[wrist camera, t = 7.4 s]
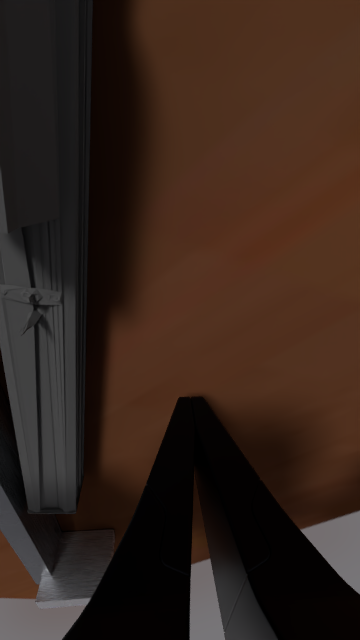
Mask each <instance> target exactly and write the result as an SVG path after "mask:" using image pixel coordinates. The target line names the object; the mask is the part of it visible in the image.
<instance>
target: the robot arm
mask: <svg viewBox="0 0 360 640" xmlns="http://www.w3.org/2000/svg"><path fill="white" fill-rule="evenodd" d="M194 472H195V478H196V483H197V488H198V494H199V499H200V505H201V510H202V516H203V521H204V526H205V532H206V537H207V543H208V548H209V553H210V559H211V564H212V570H213V575H214V581H215V585H216V591H217V596H218V602H219V608H220V612H221V618H222V624H223V629H224V632H225V633H224V635H225V640H360V594H358V593H357V592H356V591H355V590H354V589H353V588H352V587H351V586H349V585H348V584H347V583H346V582H345V581H344V580H343V579H342V578H341V577H340V576H339V575H338V574H337V572H336V571H335V570H334V569H333V568H332V567H331V566H330V564H329V563H328V562H327V561H326V560H325V558H324V557H323V556H322V555H321V554H320V553H319V552H318V550H317V549H316V548H315V547H314V546H313V545H312V543H311V542H310V541H309V540H308V539H307V538H306V536H305V535H304V534H303V533H302V532H301V531H300V529H299V528H298V527H297V526H296V525H295V523H294V522H293V521H292V520H291V519H290V517H289V516H288V515H287V514H286V512H285V511H284V510H283V509H282V508H281V506H280V505H279V504H278V502H277V501H276V500H275V498H274V497H273V496H272V494H271V493H270V491H269V490H268V489H267V487H266V486H265V484H264V483H263V481H262V480H260V477H259V476H258V475H257V473H256V472H255V470H254V469H253V467H252V466H251V465H250V463H249V462H248V460H247V459H246V457H245V456H244V455H243V453H242V452H241V450H240V449H239V447H238V446H237V445H236V443H235V442H234V440H233V439H232V437H231V436H230V435H229V433H228V432H227V430H226V429H225V428H224V426H223V425H222V423H221V422H220V420H219V419H218V418H217V416H216V415H215V413H214V412H213V410H212V409H211V408H210V406H209V405H208V403H207V402H206V400H205V399H204V398H203V397H201V396H197V397H191V398H190V397H179V398H178V400H177V403H176V406H175V408H174V411H173V414H172V416H171V419H170V422H169V424H168V427H167V430H166V432H165V435H164V438H163V440H162V443H161V446H160V448H159V451H158V454H157V456H156V459H155V462H154V464H153V467H152V470H151V472H150V475H149V478H148V480H147V483H146V486H145V488H144V491H143V493H142V496H141V498H140V501H139V503H138V506H137V508H136V511H135V513H134V515H133V518H132V520H131V522H130V524H129V526H128V528H127V530H126V532H125V534H124V536H123V538H122V540H121V542H120V544H119V546H118V548H117V550H116V552H115V554H114V556H113V557H112V559H111V561H110V563H109V565H108V567H107V569H106V571H105V573H104V575H103V577H102V579H101V581H100V583H99V584H98V586H97V588H96V590H95V592H94V594H93V595H92V597H91V599H90V600H89V602H88V604H87V605H86V607H85V609H84V610H83V612H82V613H81V615H80V616H79V618H78V619H77V620H76V622H75V623H74V624H73V626H72V627H71V629H70V630H69V631H68V633H67V634H66V635H65V637H64V638H63V639H62V640H190V639H189V638H190V636H189V635H190V577H191V548H192V517H193V485H194Z"/></svg>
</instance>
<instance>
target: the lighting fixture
mask: <svg viewBox="0 0 360 640" xmlns="http://www.w3.org/2000/svg"><path fill="white" fill-rule="evenodd" d="M92 13H93V0H0V348H1V353H2V359H3V365H4V371H5V377H6V382H7V388H8V394H9V400H10V406H11V411H12V417H13V423H14V429H15V435H16V440H17V446H18V452H19V458H20V464H21V469H22V475H23V481H24V487H25V493H26V498H27V504H28V510H27V511H28V514H76V510H77V505H78V501H79V496H80V491H81V487H82V482H83V478H84V474H83V461H84V411H85V361H86V312H87V262H88V212H89V162H90V113H91V63H92Z"/></svg>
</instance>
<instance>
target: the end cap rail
mask: <svg viewBox="0 0 360 640" xmlns="http://www.w3.org/2000/svg"><path fill="white" fill-rule="evenodd" d="M27 510H28V504H27V498H26V493H25V487H24V481H23V475H22V469H21V464H20V458H19V452H18V446H17V440H16V435H15V429H14V423H13V417H12V412H11V409H10V407H9V404H8V402H7V400H6V397H5V395H4V393H3V390H2V388H1V385H0V530H1V531H2V533H3V534H4V536H5V537H6V539H7V540H8V542H9V543H10V545H11V546H12V548H13V549H14V551H15V552H16V554H17V555H18V557H19V558H20V560H21V561H22V563H23V564H24V566H25V567H26V569H27V570H28V572H29V573H30V575H31V576H32V578H33V579H34V581H35V582H36V584H40V586H39V590H38V593H37V597H36V601H35V603H36V604H37V606H38V607H39V608H40V609H44V608H56V607H68V606H80V605H87V604H88V602H89V600H90V599H91V597H92V595H93V594H94V592H95V590H96V588H97V586H98V584H99V583H100V581H101V579H102V577H103V575H104V573H105V571H106V569H107V567H108V565H109V563H110V561H111V559H112V557H113V553H114V544H115V533H114V529H108V530H93V531H77V532H62V531H61V528H60V526H59V523H58V521H57V519H56V516H55V514H28V511H27Z"/></svg>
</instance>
